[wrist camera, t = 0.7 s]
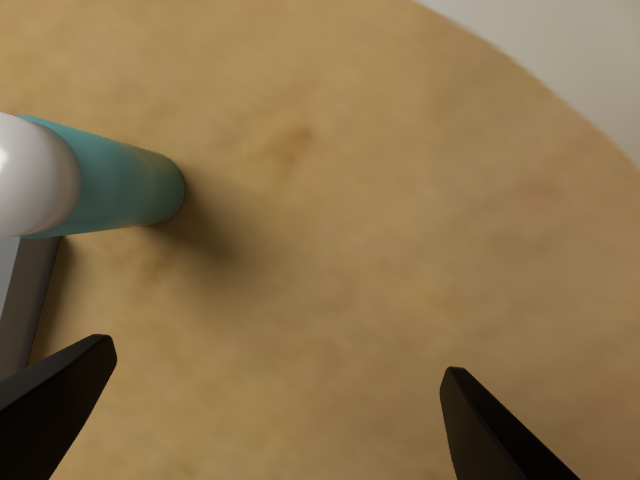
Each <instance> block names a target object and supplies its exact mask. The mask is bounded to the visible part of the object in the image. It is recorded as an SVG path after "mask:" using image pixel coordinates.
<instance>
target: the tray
mask: <svg viewBox="0 0 640 480" xmlns="http://www.w3.org/2000/svg"><path fill="white" fill-rule="evenodd" d="M59 240H60V236H55V237H47V238H39V239H27V238H21V237H17V236H13V237H3V238H0V381H1V380H3V379H5V378H7V377H9V376H11V375H13V374H15V373H17V372H19V371H21V370H23V369H25V368H26V366H27V362H28V358H29V354H30V351H31V347H32V343H33V339H34V335H35V332H36V328H37V324H38V320H39V316H40V312H41V309H42V305H43V301H44V297H45V293H46V289H47V286H48V282H49V278H50V274H51V270H52V266H53V263H54V259H55V255H56V251H57V247H58V244H59Z"/></svg>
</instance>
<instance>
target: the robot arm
mask: <svg viewBox="0 0 640 480" xmlns="http://www.w3.org/2000/svg"><path fill="white" fill-rule="evenodd" d="M116 364H117V355H116V351H115V347H114V343H113V340H112V338H111V336H109V335H103V334H93V335H90V336H88V337H86V338H84V339H82V340H80V341H78V342H76V343H74V344H72V345H70V346H68V347H66V348H64V349H62V350H60V351H58V352H57V353H55V354H53V355H51V356H49V357H47V358H45V359H43V360H41V361H39V362H37V363H35V364H33V365H31V366H29V367H27V368H25V369H23V370H21V371H19V372H17V373H15V374H13V375H11V376H9V377H7V378H5V379H3V380H1V381H0V480H49V479H50V477H51V475H52V474H53V472H54V471H55V469H56V468H57V466H58V465H59V463H60V462H61V460H62V459H63V457H64V456H65V454H66V452H67V451H68V449H69V448H70V446H71V445H72V443H73V442H74V440H75V439H76V437H77V436H78V434H79V432H80V431H81V429H82V428H83V426H84V424H85V423H86V421H87V419H88V417H89V416H90V414H91V412H92V410H93V408H94V406H95V404H96V403H97V401H98V399H99V397H100V395H101V393H102V391H103V389H104V388H105V386H106V384H107V382H108V380H109V378H110V376H111V374H112V372H113V371H114V369H115V367H116ZM440 401H441V406H442V411H443V417H444V422H445V428H446V433H447V438H448V444H449V449H450V454H451V459H452V462H453V466H454V470H455V473H456V477H457V480H581V479H580V478H578V477H577V476H576V475H575V474H574V473H573V472H572V471H571V470H570V469H569V468H568V467H567V466H566V465H565V464H564V463H563V462H562V461H561V460H560V459H559V458H558V457H557V456H556V455H555V454H553V453H552V452H551V451H550V450H549V449H548V448H547V447H546V446H545V445H544V444H543V443H542V442H541V441H540V440H539V439H538V438H537V437H536V436H535V435H534V434H533V433H532V432H531V431H530V430H528V429H527V428H526V427H525V426H524V425H523V424H522V423H521V422H520V421H519V420H518V419H517V418H516V417H515V416H514V415H513V414H512V413H511V412H510V411H509V410H508V409H507V408H506V407H505V406H503V405H502V404H501V403H500V402H499V401H498V400H497V399H496V398H495V397H494V396H493V395H492V394H491V393H490V392H489V391H488V390H487V389H486V388H485V387H484V386H483V385H482V384H481V383H480V382H478V381H477V380H476V379H475V378H474V377H473V376H472V375H471V374H470V373H469V372H468V371H467V370H466V369H464V368H461V367H451V366H450V367H448V368H447V369H446V371H445V374H444V377H443V380H442V383H441V386H440Z"/></svg>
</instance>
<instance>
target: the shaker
mask: <svg viewBox="0 0 640 480" xmlns="http://www.w3.org/2000/svg"><path fill="white" fill-rule="evenodd" d="M184 194H185V186H184V180H183V177H182V175H181V172H180V171H179V169H178V168H177V166H176V165H175V164H174V163H173V162H172V161H171V160H170V159H169V158H167V157H165V156H164V155H162V154H159V153H156V152H153V151H149V150H146V149H142V148H139V147H136V146H132V145H129V144H126V143H122V142H119V141H115V140H112V139H109V138H105V137H102V136H99V135H95V134H92V133H88V132H85V131H82V130H78V129H75V128H72V127H68V126H65V125H61V124H58V123H55V122H51V121H48V120H44V119H41V118H38V117H34V116H28V115H13V116H12V115H8V114H5V113H1V112H0V238H3V237H13V236H17V237H21V238H27V239H39V238H47V237H55V236H64V235H72V234H80V233H88V232H96V231H104V230H112V229H120V228H128V227H136V226H144V225H152V224H159V223H162V222H165V221H167V220H169V219H170V218H172V217H173V216H174V215H175V214H176V213H177V212H178V210H179V209H180V207H181V205H182V203H183V200H184Z"/></svg>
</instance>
